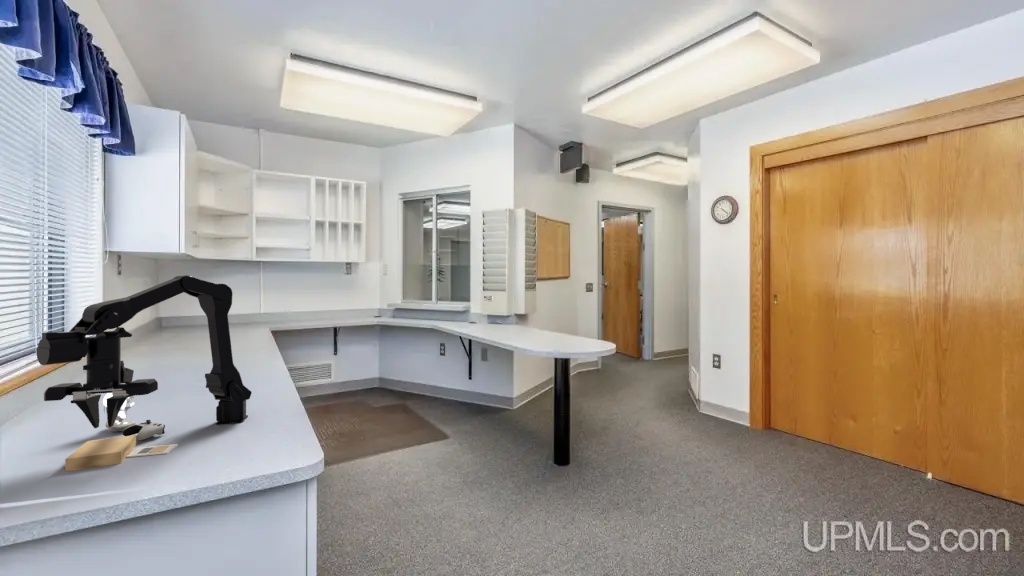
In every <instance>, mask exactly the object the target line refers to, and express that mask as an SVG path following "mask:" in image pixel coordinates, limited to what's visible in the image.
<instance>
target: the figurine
mask: <svg viewBox="0 0 1024 576" xmlns="http://www.w3.org/2000/svg"><path fill="white" fill-rule="evenodd" d="M110 397H113V394H112V393H105V395H104V397H103V399H102V404H103V412H104V415H106V414H107V399H108V398H110ZM133 399H135V396H131V397H128V398H127V399H126V400H125V402H124V403H123V405H122V407H121V409H120V411H119V413H118V416H117V418H116V420H115V422H114V425H113V426H112V427H109V426H108V422H106V423H105V428H107V429H109V430H110V431H111V432H117V433H118V432H123V430H124V429H125V428H127V427H129V426H132V425H135V424H137V423H136V422H135V421H134V420H132V419H126V418H127V413H128V411H127V410H129V409H131V408H132V407H134V405H135V402H134V401H133V402H132V403H131V402H130V400H133ZM127 404H129V406H127ZM105 411H106V414H105Z"/></svg>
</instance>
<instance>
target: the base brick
mask: <svg viewBox="0 0 1024 576" xmlns="http://www.w3.org/2000/svg"><path fill="white" fill-rule="evenodd" d="M136 446H137V434H134V435H130V436H124V435H122V436H118V437H117V436H116V437H110V438H101V439H95V440H93V439H92V440H87V441H85V442H84V443H83V444H82V445H81V446H80V447H78V448H77V449H76V450H75V451H74V452H72V453H71V454H70V455H69V456H68V457H66V458H65V460H64V461H65V464H64V465H65V466H64V467H65V469H64V470H65V472H71V471H76V470H83V469H90V468H99V467H104V466H110V465H117V464H122V463H123V462H124V461H125V459H126V456H127V455H128V454H130V453H131V452H133V451H134V449H135V448H136Z"/></svg>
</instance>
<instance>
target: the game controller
mask: <svg viewBox="0 0 1024 576" xmlns="http://www.w3.org/2000/svg"><path fill="white" fill-rule="evenodd" d="M165 428H166V425H165V424H163V423H159V422H156V421H154V422H153V421H151V419H146V420H145V422H139V423H136V424H134V425H132V426H129V427H127V428H125V429H124V430H122V431H121V432H122V433H121V434H122V436H131V435H136V440H139V441H143V440H146V439H148V438H150V437H152V436H154V435H155V436H156V435H158V436H161V435H163V434H165Z"/></svg>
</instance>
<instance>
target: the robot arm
mask: <svg viewBox="0 0 1024 576" xmlns="http://www.w3.org/2000/svg"><path fill="white" fill-rule="evenodd" d="M183 293H184V294H186V295H188V296H191V297H194V298H196V299H197V300H198V303H199V306H200V308H201V310H202V311H203V312H204V314H205V316H206V319H207V325H208V327H207V329H208V333H209V343H210V351H211V360H212V361H211V362H212V368H211V371H210V372H209V373H208V372H207V373H204V378H205V381H206V382H205V389H208V392H209V393H210V394H212V395H213V397H214V400H216V401H217V402H218V405H217V406H216V412H215V416H216V418H215V419H216V420H215V421H216V423H215V424H216V426H218V425H229V424H238V423H239V424H240V423H243V422H245V420H246V419H247V418H248V416H249V414H248V415H247V400H250V398H251V396H252V390H250V389H249V388H248V387H247V386H245V385H244V384H243V383H244V382H243V379H242V377H241V373H240V372H239V370H238V368H237V367H236V366H235V363H234V358H233V352H232V351H233V350H232V349H233V348H232V343H231V342H232V341H231V340H232V339H231V335H230V325H229V312H230V310H231V307H232V305H233V290H232V288H231V287H230V286H228V285H227V284H226V283H214V282H211V281H208V280H203V279H199V278H196V277H194V276H191V275H176V276H174V277H173V278H171V279H168V280H166V281H164V282H161V283H158V284H155V285H154V286H152V287H149V288H146V289H144V290H141V291H139V292H136V293H133V294H131V295H128V296H126V297H121V298H117V299H110V300H105V301H101V302H98V303H92V304H90V305H88V306H87V307H85V308H84V309H83V313H82V314H81V315H82V317H81V318H80V319H79V320H78V321H77V322H76V323H75V325H74V326H73V327H72V328H71V329H70V330H69V331H61V332H56V331H48V332H47V331H46V332H42V333H41V339H40V340H39V341H38V344H37V347H36V351H35V353H36V358H37V361H38V363H39V364H40V365H41V366H47V365H48V366H50V365H57V364H59V365H60V364H66V363H77V362H80V361H81V360H82V359H83V358H86V364H84V365H82V370H83V371H86V383H85V382H84V383H83V384H82V383H81V382H67V383H59V384H56V385H52V386H48V387H47V389H45V390H44V393H43V402H52V401H62V400H63V399H64V398H66V397H67V396H72V400H70V404H75V405H76V406H77V407H78V408H79V409H80V411H81V412H83V414H84V415H85V416H86V418H87V420H88V421H89V423H90V424H91V426H92V427H93V429H98V428H99V427H100V406H99V405H100V404H99V402H100V400H101V397H102V394H107V393H112V394H113V397H110V398H108V399H107V413H106V418H107V420H106V421H107V422H108V426H109V427H112V426H113V425H114V422H115V420H116V418H117V416H118V413H119V411H120V409H121V407H122V405H123V403H124V402H125V400H126V399H127V398H128V397H131V396H133V397H135V396H145V395H149V394H152V393H154V392H156V391H158V390H159V388H158V387H159V385H158V381H157V379H155V378H143V379H142V378H141V379H140V378H139V379H135V380H133V377H134V370H133V369H130V368H129V367H125V363H124V360H121V358H122V357H121V355H122V353H121V341H122V338H131V337H132V336H133V334H132V333H130V332H129V331H127V330H126V328H125V327H123V326H122V325H124V324H125V323H127V322H129V321H130V320H132V319H133V318H134V317H135V316H136V315H137V314H138V313H140V312H142V311H144V310H146V309H148V308H150V307H153V306H156V305H157V304H160V303H162V302H164V301H167V300H169V299H171V298H173V297H176V296H179V295H181V294H183ZM120 326H122V327H120ZM107 330H108V331H107Z"/></svg>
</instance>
